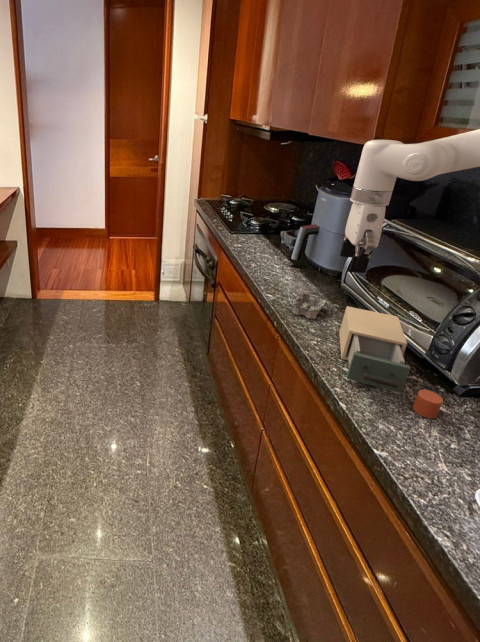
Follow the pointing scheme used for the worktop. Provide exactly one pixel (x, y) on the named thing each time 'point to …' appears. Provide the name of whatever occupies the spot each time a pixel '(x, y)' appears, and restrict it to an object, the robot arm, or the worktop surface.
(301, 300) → the egg carton
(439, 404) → the orange cylinder
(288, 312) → the worktop surface
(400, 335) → the wooden drawer box
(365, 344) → the green-fronted drawer
